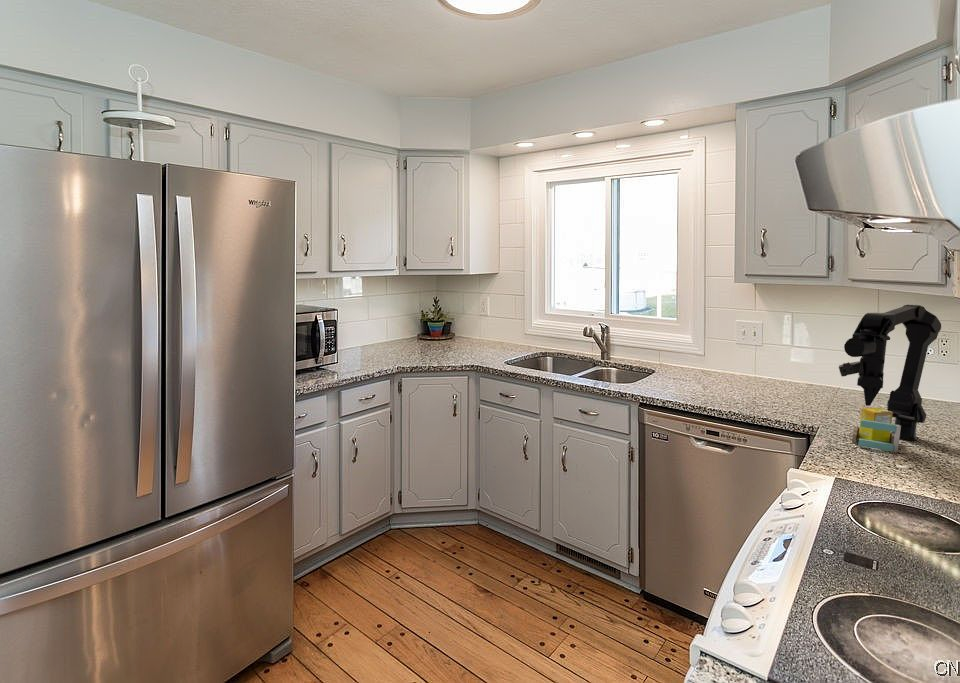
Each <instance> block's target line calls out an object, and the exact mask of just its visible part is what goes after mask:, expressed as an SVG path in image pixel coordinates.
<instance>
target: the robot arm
mask: <svg viewBox="0 0 960 683" xmlns="http://www.w3.org/2000/svg"><path fill="white" fill-rule="evenodd" d="M900 324H902V325H903V327H904V328H905V336H906V339H907V341H908V342H909V343H908V344H909V345H908V348H907V353H906V355H905V356H906V358H905V361H904V366H903V370H902V374H901V376H900V377H901V378H900V382H899V386H898V387H897V388H896V389H894V390H891V391H890V392H889V397H888V398H889V399H888V401H887V404H886V405H887V406H886V407H887V410H888V411H891V412H893V415H892V418H895V419H894V424H895V425H901V429H900V438H899V440H908V441H913V442H917V441H918V438H917V437H918V436H917V435H916V432H917V424H918V423H921V424H923V423H925V421H926V419H927V414H926V412H925V409H924V408H923V405H922V403H923V398H922V395H921V394H920V392H919V387H920V383H921V379H922V374H923V369H924V366H925V362H926V356H927V353H928V348H929V346H930V345H931V344H933V342H935V341H936V340H937V339H938V336H939V333H940V332H941V330H942V323H941V321H940V320H939V318H938V317H937V316H936V315H935V314H933V313H932V312H930V311H928V310H926V308H925V306H923V305H920V304H919V305H918V304H904V305H903V306H899V307H896V308H895V309H892V310H888V311H886V312H867V313H865V314H864V315H863V317H862V318H861V319H860V321H859V323H858V325H857V326H856V328H855V330H854V332H853V333H852V337H851V338H848V339H847V340H846V341H845V343H844V351H845V353H846V354H847V355H848V356H850V357H851V358H859V357H860V358H859V359H860V360H859V361H853V362H849V361H848V362H843V363H841V364H839V365H838V370H839V374H840V376H841V377H847V376H850V375H856V374H858V377H857V380H856V381H857V384H856V386H858V387H861V388H862V389H863V396H864V404H865V406H868V407H869V406H871V404H872V403H873V402H874V400H875V398H876V397H877V395H878V394H879V392H880V391H881V389H883V388H884V375H885V373H884V367H885V360H886V352H887V351H886V349H887V342H888V341H890V340H891V337H890V336H889V334H890V333H891V332H893V331H894V330H895V329H896V328H895V327H896V326H898V325H900ZM891 433H895V432H892V431H891Z"/></svg>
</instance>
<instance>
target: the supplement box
mask: <svg viewBox="0 0 960 683" xmlns="http://www.w3.org/2000/svg"><path fill="white" fill-rule="evenodd" d="M892 415H893V412H891V411H888V409H884V408H882V407H861V412H860V422H859V428H860V429H859V438H857V439H858V440H857V441H858V442H859V439H866V440H872V441H878V442H884V443H889V442H890V433H892V431H885V430H878V429H872V428H865V427H860V426H861V420H868V421H875V422H881V423H888V424H893V423H892V422H893V417H892Z"/></svg>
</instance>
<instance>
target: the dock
mask: <svg viewBox="0 0 960 683" xmlns="http://www.w3.org/2000/svg"><path fill="white" fill-rule="evenodd" d="M859 429H860V427H857V426H854V427H853V431H852V438H851V443H852V444H856V443H857V439H859ZM894 437H895V433H892V432H891V433H890V444H894ZM856 445H857V444H856Z"/></svg>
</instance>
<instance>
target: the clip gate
mask: <svg viewBox="0 0 960 683" xmlns="http://www.w3.org/2000/svg"><path fill="white" fill-rule="evenodd" d="M860 420H861V419H860ZM860 427H865V428H872V429H878V430H885V431H891V433H892V432H895V437H894V444H891V443H884V442H878V441H872V440H866V439H859V438H858V439H859V441H858V444H857V445H858V447H864V448H869V449H875V450H882V451H888V452H894V453H898V452H899V443H900V429H901V425H895V423H892V424H888V423H881V422H875V421H868V420H861V426H860V425H859V428H860Z"/></svg>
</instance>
